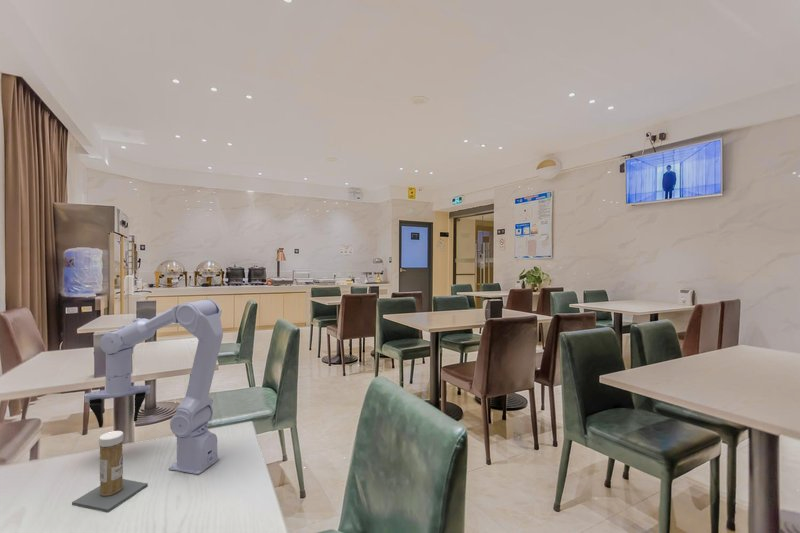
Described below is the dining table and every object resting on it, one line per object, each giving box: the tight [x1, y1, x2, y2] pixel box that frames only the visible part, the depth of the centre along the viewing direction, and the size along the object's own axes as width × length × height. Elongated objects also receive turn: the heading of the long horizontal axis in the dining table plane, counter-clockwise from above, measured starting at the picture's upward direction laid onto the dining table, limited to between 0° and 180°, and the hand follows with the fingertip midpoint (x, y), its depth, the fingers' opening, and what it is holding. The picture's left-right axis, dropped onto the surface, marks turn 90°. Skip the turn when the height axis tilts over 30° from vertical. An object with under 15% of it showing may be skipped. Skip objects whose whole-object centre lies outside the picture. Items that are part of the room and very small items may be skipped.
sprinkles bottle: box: [98, 430, 124, 496], centre depth 90 cm, size 5×5×13 cm
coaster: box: [71, 478, 149, 513], centre depth 90 cm, size 10×10×1 cm
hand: (118, 423), depth 107 cm, fingers open, 7 cm apart
